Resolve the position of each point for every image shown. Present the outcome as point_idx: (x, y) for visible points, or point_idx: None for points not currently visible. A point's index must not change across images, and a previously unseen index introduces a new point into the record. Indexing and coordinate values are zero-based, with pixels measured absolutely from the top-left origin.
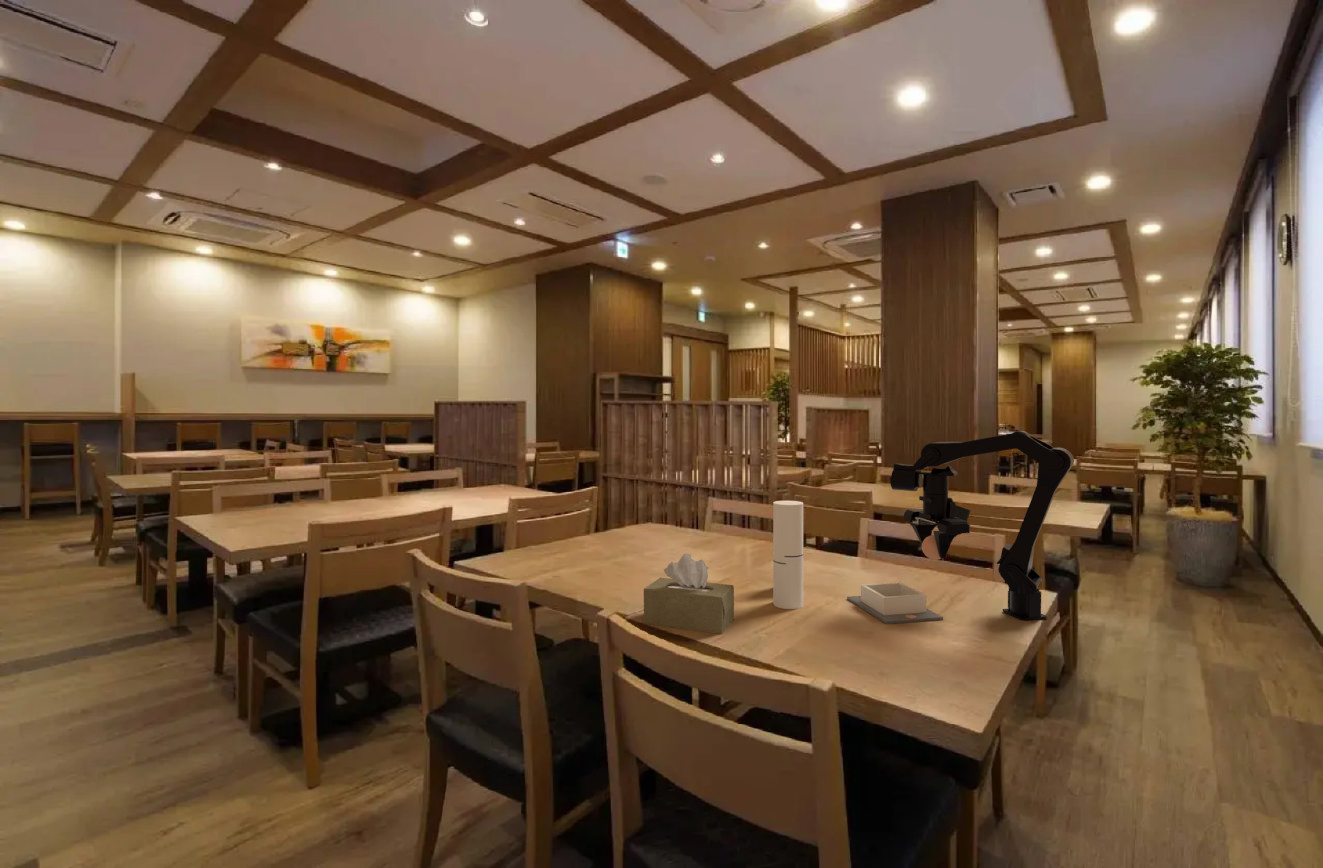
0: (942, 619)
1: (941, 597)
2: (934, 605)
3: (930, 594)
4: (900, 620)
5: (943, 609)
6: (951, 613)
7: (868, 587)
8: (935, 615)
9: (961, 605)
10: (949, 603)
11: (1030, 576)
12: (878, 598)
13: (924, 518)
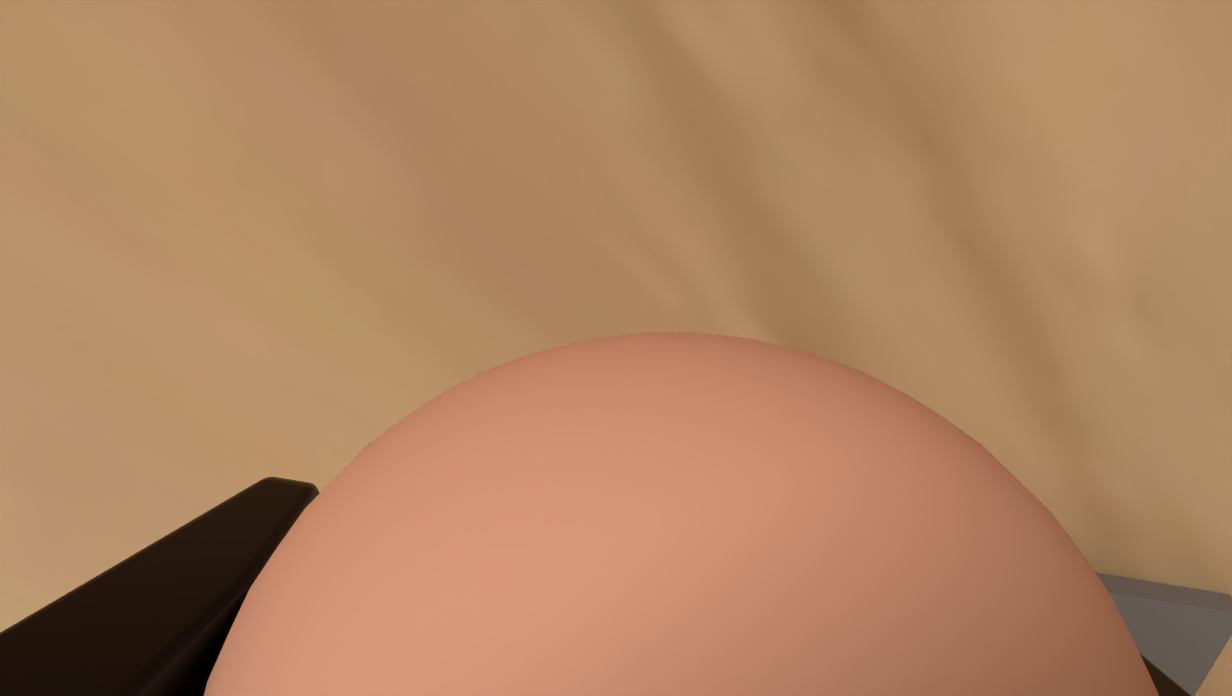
0: (1229, 601)
1: (652, 19)
2: (865, 354)
3: (483, 61)
4: None
5: (1021, 367)
6: (1164, 389)
7: None
8: (1166, 639)
9: (1044, 38)
10: (900, 126)
11: None
12: None
13: None
